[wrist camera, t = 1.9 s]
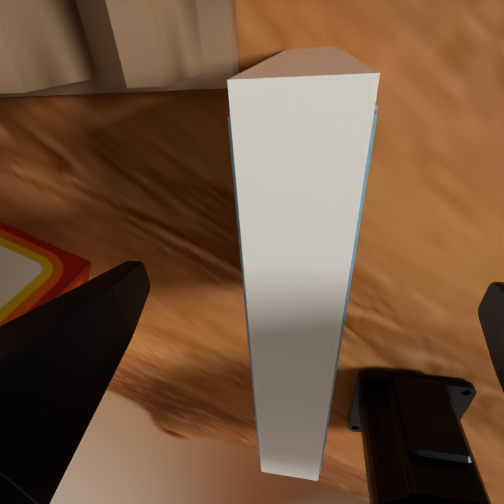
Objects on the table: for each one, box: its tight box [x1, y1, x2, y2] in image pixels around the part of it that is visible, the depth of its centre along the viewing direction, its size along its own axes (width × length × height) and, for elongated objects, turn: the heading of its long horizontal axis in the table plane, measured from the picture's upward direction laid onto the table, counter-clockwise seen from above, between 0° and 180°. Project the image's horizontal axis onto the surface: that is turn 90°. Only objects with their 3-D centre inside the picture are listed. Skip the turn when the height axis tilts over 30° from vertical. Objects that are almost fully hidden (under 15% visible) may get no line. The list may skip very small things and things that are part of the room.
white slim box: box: [227, 46, 380, 481], centre depth 10 cm, size 10×2×9 cm, turn 3°
